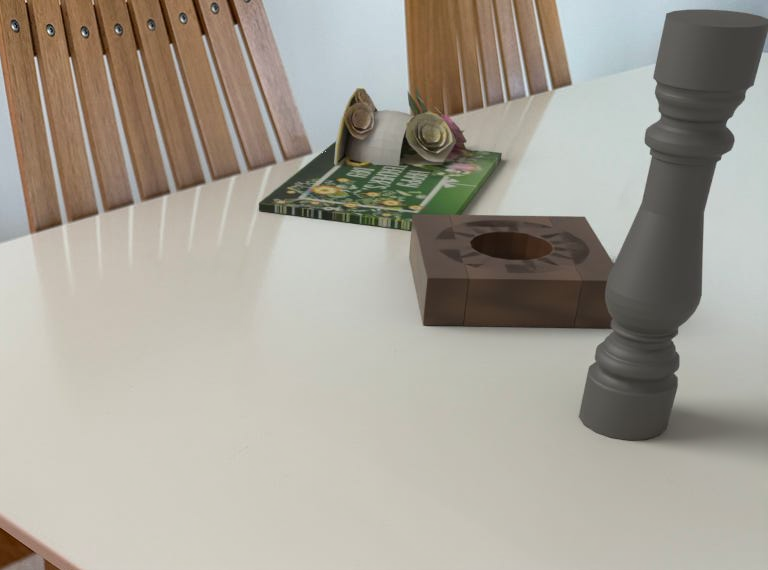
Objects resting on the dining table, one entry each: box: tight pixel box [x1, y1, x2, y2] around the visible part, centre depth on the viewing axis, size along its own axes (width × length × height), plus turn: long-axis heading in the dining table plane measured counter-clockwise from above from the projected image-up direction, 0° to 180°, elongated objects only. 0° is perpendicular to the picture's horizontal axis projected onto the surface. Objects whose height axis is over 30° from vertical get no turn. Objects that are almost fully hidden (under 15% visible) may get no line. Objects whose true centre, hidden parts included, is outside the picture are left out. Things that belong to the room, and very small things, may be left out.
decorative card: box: [258, 84, 503, 231], centre depth 116 cm, size 33×8×20 cm
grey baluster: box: [578, 8, 768, 441], centre depth 67 cm, size 6×6×25 cm
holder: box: [408, 214, 615, 329], centre depth 92 cm, size 16×16×4 cm
